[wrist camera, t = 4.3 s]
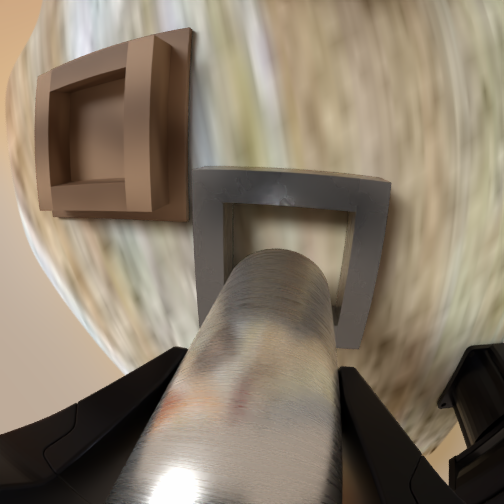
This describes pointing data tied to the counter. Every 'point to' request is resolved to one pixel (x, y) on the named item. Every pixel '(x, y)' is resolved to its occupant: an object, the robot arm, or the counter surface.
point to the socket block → (297, 195)
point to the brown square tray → (116, 132)
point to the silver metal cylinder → (249, 399)
